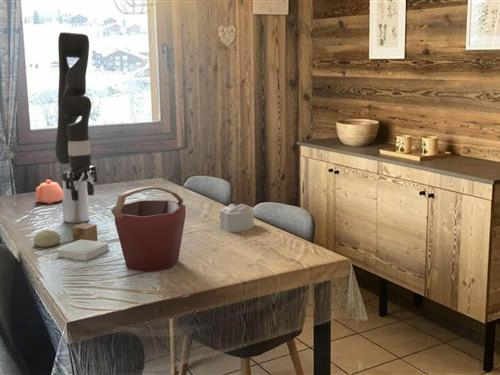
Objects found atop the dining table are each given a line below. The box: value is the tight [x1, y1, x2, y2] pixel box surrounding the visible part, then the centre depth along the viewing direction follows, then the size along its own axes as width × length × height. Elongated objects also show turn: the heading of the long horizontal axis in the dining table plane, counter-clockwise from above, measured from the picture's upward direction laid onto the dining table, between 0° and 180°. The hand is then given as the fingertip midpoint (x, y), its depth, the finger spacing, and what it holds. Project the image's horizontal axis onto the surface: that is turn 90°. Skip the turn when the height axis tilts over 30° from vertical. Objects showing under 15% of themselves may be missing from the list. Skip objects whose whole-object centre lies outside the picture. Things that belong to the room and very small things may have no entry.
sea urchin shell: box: [32, 229, 61, 248], centre depth 219 cm, size 9×8×8 cm
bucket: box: [110, 186, 187, 273], centre depth 195 cm, size 24×22×25 cm
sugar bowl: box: [35, 179, 64, 205], centre depth 281 cm, size 12×14×10 cm
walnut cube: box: [71, 222, 98, 242], centre depth 221 cm, size 6×6×6 cm
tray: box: [56, 239, 110, 261], centre depth 208 cm, size 12×12×3 cm
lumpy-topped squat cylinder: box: [219, 203, 255, 233], centre depth 236 cm, size 10×13×9 cm
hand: (83, 197), depth 218 cm, fingers open, 8 cm apart
